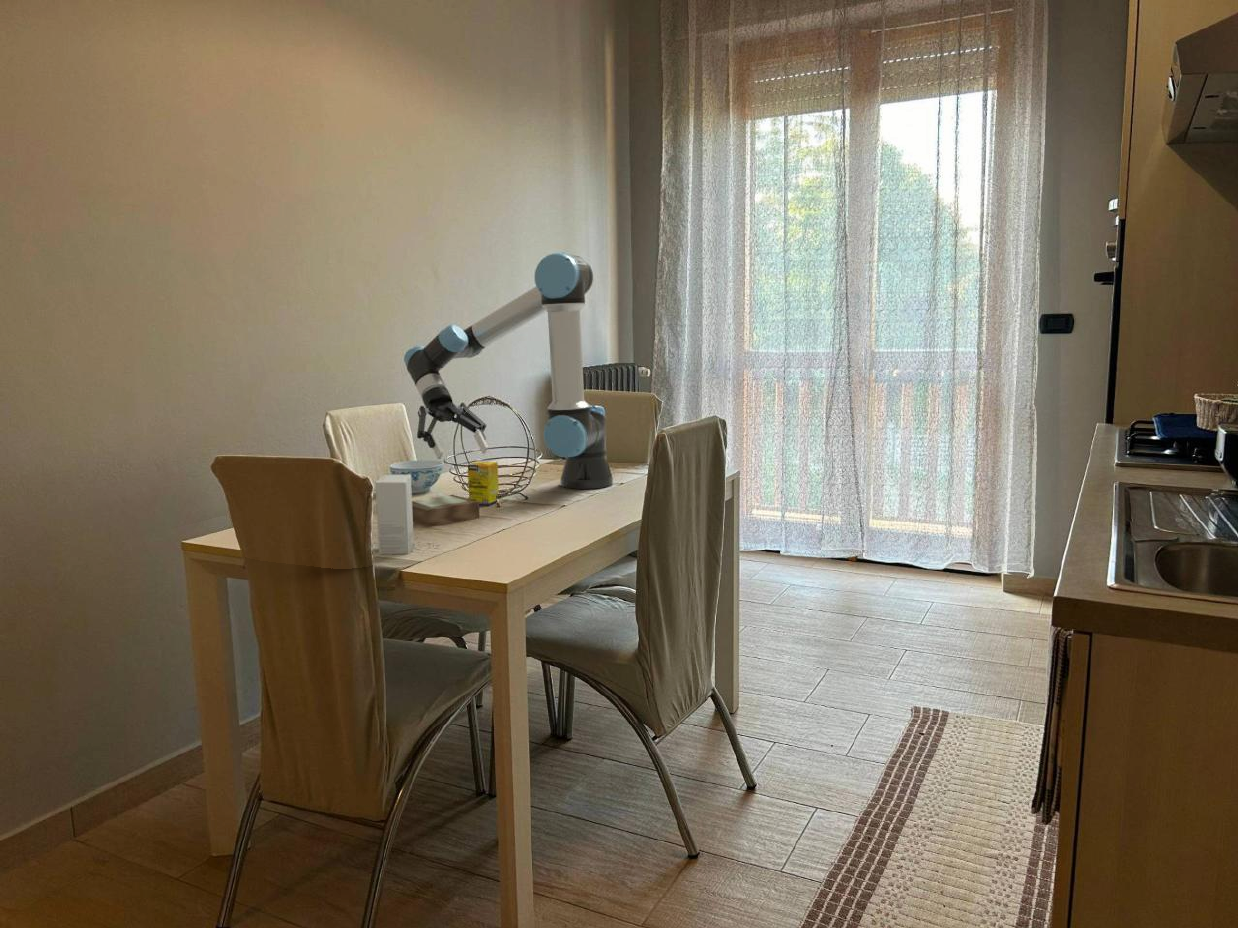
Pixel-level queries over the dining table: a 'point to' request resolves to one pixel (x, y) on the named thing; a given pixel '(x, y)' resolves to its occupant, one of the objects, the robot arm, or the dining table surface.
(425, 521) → the flat brown box
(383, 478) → the skincare box
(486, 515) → the dining table surface
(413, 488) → the chinaware
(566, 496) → the dining table surface
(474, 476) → the supplement box
